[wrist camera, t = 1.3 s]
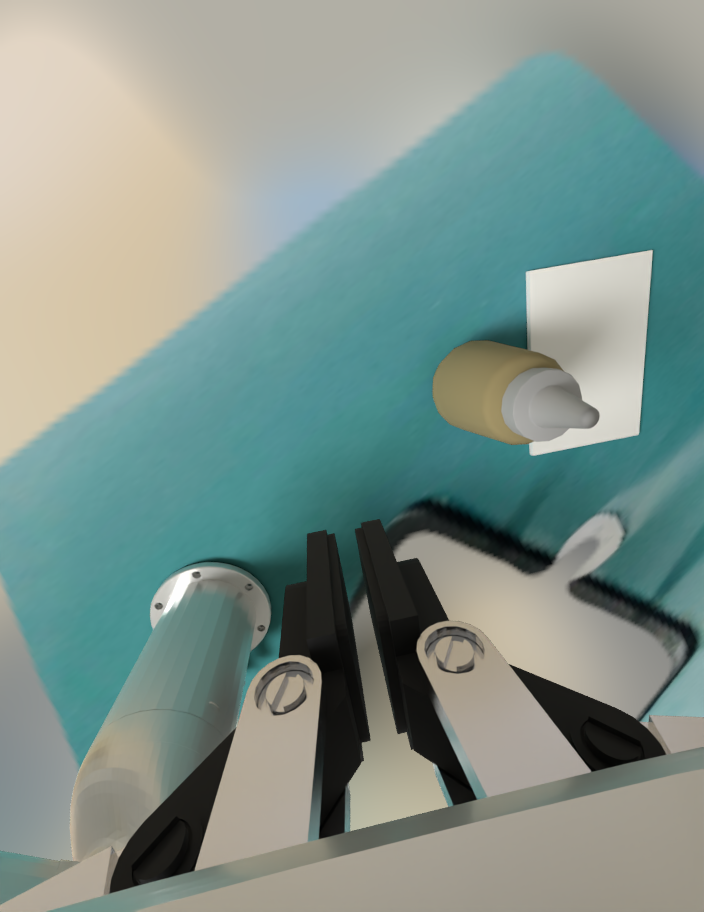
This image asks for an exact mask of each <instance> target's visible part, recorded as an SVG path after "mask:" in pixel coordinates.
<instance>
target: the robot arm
mask: <svg viewBox="0 0 704 912" xmlns="http://www.w3.org/2000/svg"><path fill="white" fill-rule="evenodd" d="M361 526H362V528H358V529H355V533H356V539H357V544H358V549H359V555H360V560H361V566H362V571H363V577H364V582H365V587H366V593H367V598H368V604H369V609H370V614H371V618H372V623H373V627H374V631H375V636H376V640H377V645H378V649H379V654H380V658H381V663H382V667H383V672H384V676H385V681H386V685H387V689H388V694H389V698H390V702H391V707H392V712H393V716H394V720H395V725H396V729H397V733H398V734H400V733H405V732H407V735H408V739H409V743H410V747H411V750H412V749H414V751H416V752H417V753H419V754H420V755H422V756H423V757H425V758H426V759H428V760H429V761H431V762H432V763H433V767H434V770H435V775H436V777H437V780H438V782H439V785H440V787H441V790H442V792H443V794H444V797H445V799H446V802H447V804H448V807H447V808H442V809H439V810H434V811H430V812H427V813H422V814H418V815H415V816H410V817H406V818H402V819H398V820H394V821H390V822H386V823H383V824H378V825H374V826H370V827H366V828H362V829H359V830H354V831H350V790H349V781H350V780H351V778H352V777H353V775H354V773H355V772H356V770H357V769H358V767H359V766H360V764H361V762H362V761H364V758H363V751H362V742H367V741H370V733H369V726H368V720H367V714H366V707H365V701H364V694H363V688H362V682H361V675H360V669H359V662H358V655H357V649H356V642H355V636H354V630H353V623H352V617H351V612H350V607H349V602H348V597H347V592H346V587H345V582H344V578H343V573H342V568H341V563H340V558H339V553H338V548H337V543H336V539H335V534H329V535H327V531H326V530H323V531H318V532H313V533H308V534H307V581H305V582H300V583H296V584H291V585H287V586H286V589H285V597H284V608H283V619H282V629H281V640H280V651H279V659H277V660H275V661H273V662H271V663H269V664H268V665H266V666H265V667H264V668H263V669H261V670H260V671H259V672H258V674H257V675H256V676H255V677H254V679H253V680H252V682H251V684H250V686H249V688H248V690H247V693H246V697H245V700H244V704H243V707H242V710H241V714H240V717H239V721H238V724H237V719H238V714H239V708H240V703H241V698H242V692H243V687H244V685H245V676H246V671H247V666H248V661H249V655H250V651H251V650H253V649H254V648H255V647H257V645H258V644H259V643H260V642H261V641H262V640H263V638H264V636H265V635H266V633H267V631H268V628H269V624H270V619H271V603H270V599H269V596H268V594H267V592H266V590H265V588H264V587H263V585H262V584H261V583H260V582H259V581H258V580H257V579H256V578H255V577H254V576H252V575H251V574H250V573H248V572H247V571H245V570H243V569H241V568H239V567H236V566H233V565H230V564H225V563H219V562H204V563H198V564H193V565H190V566H187V567H184V568H182V569H180V570H178V571H176V572H175V573H173V574H172V575H171V576H169V577H168V578H167V579H166V580H165V581H164V582H163V583H162V585H161V586H160V587H159V589H158V591H157V592H156V594H155V596H154V598H153V600H152V603H151V609H150V619H151V625H152V628H153V632H152V634H151V635H150V637H149V639H148V641H147V643H146V645H145V647H144V648H143V650H142V652H141V654H140V656H139V658H138V660H137V662H136V663H135V665H134V667H133V669H132V671H131V673H130V675H129V676H128V678H127V680H126V682H125V684H124V686H123V688H122V690H121V691H120V693H119V695H118V697H117V699H116V701H115V703H114V704H113V706H112V708H111V710H110V712H109V714H108V716H107V717H106V719H105V721H104V723H103V725H102V727H101V729H100V731H99V732H98V734H97V736H96V738H95V740H94V742H93V744H92V745H91V747H90V749H89V751H88V753H87V755H86V757H85V759H84V761H83V763H82V765H81V768H80V770H79V772H78V775H77V779H76V782H75V785H74V789H73V795H72V800H71V808H70V834H71V848H72V856H73V861H69V860H61V861H55V860H50V859H44V858H38V857H33V856H27V855H21V854H16V853H9V852H4V851H0V912H704V717H682V716H656V715H649V722H639V721H637V720H636V719H635V718H634V717H632V716H630V715H628V714H626V713H625V712H623V711H621V710H619V709H617V708H615V707H612V706H610V705H607V704H605V703H602V702H600V701H597V700H595V699H593V698H590V697H588V696H585V695H583V694H581V693H578V692H575V691H573V690H570V689H568V688H566V687H563V686H561V685H559V684H556V683H554V682H551V681H549V680H546V679H544V678H541V677H539V676H536V675H534V674H532V673H529V672H527V671H524V670H522V669H519V668H517V667H515V666H512V665H510V664H508V663H507V662H506V660H505V659H504V658H503V657H502V655H501V654H500V653H499V651H498V650H497V649H496V647H495V646H494V645H493V644H492V642H491V641H490V640H489V638H488V637H487V636H486V635H485V634H484V633H483V632H482V631H481V630H480V629H478V628H476V627H474V626H472V625H470V624H467V623H464V622H460V621H449V620H448V618H447V615H446V613H445V611H444V609H443V607H442V605H441V603H440V601H439V599H438V597H437V595H436V593H435V591H434V589H433V587H432V585H431V583H430V581H429V579H428V577H427V575H426V574H425V571H424V569H423V567H422V566H421V563H420V562H419V560H418V559H417V558H414V559H410V560H405V561H400V562H397V561H396V559H395V556H394V554H393V551H392V549H391V546H390V544H389V541H388V539H387V536H386V534H385V531H384V529H383V526H382V524H381V521H380V519H377V520H372V521H367V522H362V523H361ZM236 724H237V727H236Z"/></svg>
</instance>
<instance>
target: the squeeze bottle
mask: <svg viewBox="0 0 704 912" xmlns="http://www.w3.org/2000/svg"><path fill="white" fill-rule="evenodd" d="M433 399H434V402H435V404H436V407H437V410H438V413H439V414H440V415H441V416H442V417H443V418H444V419H445V420H446V421H447V422H448V423H449V424H450V425H453V426H455V427H458V428H461V429H463V430H466V431H469V432H472V433H476V434H479V435H482V436H485V437H488V438H492V439H495V440H498V441H501V442H504V443H508V444H511V445H518V444H529V443H532V442H534V441H535V442H541V441H550V440H553V439H555V438H557V437H559V436H561V435H563V434H564V433H565V432H566V431H567V430H568V429H569V428H576V429H590V428H592V427H594V426H595V425H596V424H597V423H598V421H599V417H600V415H599V411H598V410H597V409H596V408H594V407H593V406H591V405H589V404H588V403H586V402H584V401H583V400H582V395H581V391H580V386H579V384H578V383H577V381H576V380H575V379H574V378H573V376H572V375H571V374H569V373H566V372H564V370H563V369H562V368H561V367H560V365H559V364H558V363H557V362H556V360H555V359H552V358H550V357H548V356H546V355H543V354H541V353H539V352H534V351H530V350H526V349H522V348H518V347H514V346H509V345H505V344H501V343H497V342H493V341H489V340H484V341H469V342H467V343H465V344H463V345H461V346H458V347H456V348H454V349H453V350H452V351H451V352H450V353H449V354H448V355H447V356H446V357H445V359H444V360H443V361H442V362H441V363H440V364H439V366H438V368H437V370H436V372H435V375H434V377H433Z"/></svg>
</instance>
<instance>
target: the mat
mask: <svg viewBox="0 0 704 912" xmlns="http://www.w3.org/2000/svg"><path fill="white" fill-rule="evenodd" d="M652 253H653V250H650V251H644V252H638V253H632V254H626V255H620V256H615V257H609V258H603V259H597V260H591V261H585V262H579V263H574V264H568V265H562V266H556V267H550V268H544V269H538V270H533V271H528V272H526V297H527V348H528V350H530V351H534V352H539V353H541V354H543V355H546V356H548V357H550V358H552V359H555V360H556V362H557V363H558V364H559V365H560V367H561V368H562V369H563V370H564V372H566V373H569V374H571V375H572V376H573V378H574V379H575V380H576V381H577V383H578V384H579V386H580V391H581V395H582V400H583V401H584V402H586V403H588V404H589V405H591V406H593V407H594V408H596V409H597V410H598V411H599V415H600V417H599V421H598V423H597V424H596V425H595V426H594V427H592V428H590V429H576V428H569V429H568V430H567V431H566V432H565V433H564V434H563V435H561V436H559V437H557V438H555V439H553V440H550V441H541V442H535V441H534V442H532V443H529V450H530V455H532V456H534V455H539V454H544V453H549V452H554V451H559V450H564V449H569V448H574V447H579V446H584V445H589V444H594V443H599V442H605V441H610V440H615V439H620V438H625V437H630V436H635V435H639V427H640V413H641V400H642V387H643V373H644V360H645V347H646V333H647V320H648V307H649V293H650V280H651V267H652Z"/></svg>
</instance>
